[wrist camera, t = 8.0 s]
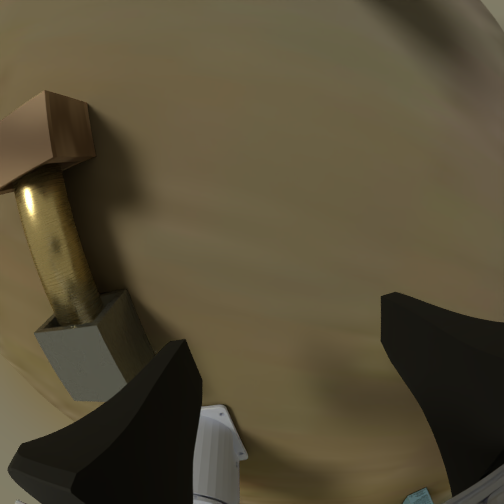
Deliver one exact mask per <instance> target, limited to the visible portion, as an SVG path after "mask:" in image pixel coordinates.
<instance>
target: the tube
mask: <svg viewBox="0 0 504 504" xmlns="http://www.w3.org/2000/svg"><path fill="white" fill-rule="evenodd" d="M12 183H13V188H14V193H15V198H16V202H17V206H18V210H19V214H20V218H21V222H22V226H23V229H24V233H25V236H26V239H27V243H28V246H29V249H30V252H31V255H32V258H33V261H34V264H35V267H36V269H37V272H38V275H39V277H40V280H41V283H42V285H43V288H44V290H45V293H46V295H47V297H48V300H49V302H50V304H51V307H52V309H53V311H54V313H55V316H56V318H57V320H58V322H59V324H60V326H61V327H62V326H70V325H77V324H84V323H92V322H93V321H94V320H95V319H96V317H97V316H98V315H99V314H100V313H101V311H102V310H103V309H104V308H105V307H104V304H103V302H102V300H101V297H100V295H99V292H98V290H97V287H96V285H95V282H94V279H93V277H92V274H91V271H90V268H89V266H88V263H87V260H86V257H85V254H84V251H83V248H82V245H81V242H80V239H79V235H78V232H77V229H76V225H75V222H74V218H73V215H72V211H71V207H70V204H69V200H68V196H67V192H66V187H65V183H64V178H63V174H62V169H61V164H60V163H47V164H43V165H41V166H39V167H37V168H35V169H33V170H32V171H30V172H28V173H26V174H25V175H23V176H21V177H19V178H18V179H16V180H14V181H13V182H12Z"/></svg>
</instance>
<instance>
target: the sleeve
mask: <svg viewBox="0 0 504 504" xmlns="http://www.w3.org/2000/svg"><path fill="white" fill-rule="evenodd" d="M99 295H100V297H101V300H102V302H103V304H104V307H105V308H104V309H103V310H102V311H101V313H100V314H99V315H98V316H97V317H96V319H95V320H94V321H93V322H92V323H84V324H77V325H70V326H62V327H61V326H60V324H59V322H58V320H57V318H56V316H55V313H54V314H53V315H52V316H51V317H50V318H49V319H48V320H47V321H46V322H45V323H44V324H43V325H42V326H41V327H40V328H39V329H38V330H37V331H35V332H34V335H35V336H36V338H37V340H38V342H39V344H40V346H41V348H42V350H43V351H44V353H45V355H46V357H47V358H48V360H49V362H50V364H51V365H52V367H53V369H54V370H55V372H56V374H57V375H58V377H59V378H60V380H61V382H62V383H63V385H64V386H65V388H66V389H67V391H68V392H69V394H70V395H71V397H72V398H73V399H74V401H98V402H107V401H108V400H109V399H110V398H112V397H113V396H114V395H115V394H117V393H118V392H119V391H120V390H121V389H122V388H123V387H124V386H125V385H127V384H128V383H129V382H130V381H131V380H132V379H133V378H134V377H135V376H136V375H137V374H138V373H139V372H140V371H141V370H142V369H143V368H144V367H145V366H146V365H147V364H148V363H149V362H150V361H151V360H152V359H153V358H154V357H155V354H154V352H153V350H152V348H151V346H150V343H149V341H148V339H147V337H146V334H145V332H144V330H143V328H142V325H141V323H140V320H139V318H138V316H137V313H136V311H135V308H134V306H133V303H132V301H131V298H130V296H129V293H128V290H127V289H122V290H117V291H112V292H107V293H102V294H99Z"/></svg>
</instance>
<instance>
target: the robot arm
mask: <svg viewBox="0 0 504 504" xmlns="http://www.w3.org/2000/svg"><path fill="white" fill-rule="evenodd" d="M381 342H382V345H383V347H384V349H385V351H386V353H387V355H388V357H389V359H390V361H391V362H392V364H393V365H394V367H395V368H396V370H397V371H398V373H399V374H400V376H401V377H402V379H403V380H404V382H405V383H406V385H407V386H408V388H409V389H410V391H411V392H412V394H413V395H414V397H415V398H416V400H417V401H418V403H419V405H420V406H421V408H422V410H423V412H424V414H425V416H426V418H427V421H428V423H429V425H430V427H431V429H432V432H433V434H434V437H435V439H436V442H437V444H438V447H439V450H440V453H441V456H442V459H443V462H444V465H445V468H446V472H447V475H448V479H449V483H450V487H451V492H452V497H453V498H451V499H449V500H447V501H446V502H444V503H442V504H481V503H482V504H504V323H503V322H495V321H488V320H483V319H478V318H474V317H470V316H466V315H462V314H459V313H456V312H452V311H449V310H446V309H443V308H440V307H437V306H434V305H432V304H429V303H426V302H424V301H421V300H418V299H416V298H413V297H410V296H407V295H404V294H401V293H397V292H393V293H390V294H387V295H383V296H381ZM201 406H202V378H201V376H200V373H199V371H198V369H197V366H196V364H195V362H194V359H193V357H192V354H191V352H190V349H189V347H188V344H187V342H186V339H183V340H176V341H170V342H169V343H168V344H167V345H165V346H164V347H163V348H162V349H161V350H160V351H159V353H158V354H157V355H156V356H155V357H154V358H153V359H152V360H151V361H150V362H149V363H148V364H147V365H146V366H145V367H144V368H143V369H142V370H141V371H140V372H139V373H138V374H137V375H136V376H135V377H134V378H133V379H132V380H131V381H130V382H129V383H128V384H127V385H125V386H124V387H123V388H122V389H121V390H120V391H119V392H118V393H117V394H115V395H114V396H113V397H112V398H110V399H109V400H108V401H107V402H105V403H104V404H103V405H101V406H100V407H98V408H97V409H96V410H94V411H92V412H91V413H89V414H88V415H86V416H84V417H83V418H81V419H79V420H78V421H76V422H74V423H73V424H71V425H69V426H67V427H65V428H63V429H60V430H58V431H56V432H54V433H52V434H49V435H47V436H44V437H41V438H38V439H35V440H32V441H29V442H26V443H22V444H21V445H20V447H19V448H18V450H17V452H16V454H15V456H14V457H13V459H12V461H11V463H10V465H9V467H8V473H9V475H10V476H11V478H12V479H13V480H14V481H15V482H16V483H17V484H18V485H19V486H20V487H22V488H23V489H24V490H25V491H26V492H28V493H29V494H30V495H31V496H32V497H34V498H35V499H36V500H38V501H39V502H40V503H42V504H239V501H240V487H239V460H246V459H248V454H247V452H246V449H245V447H244V445H243V443H242V441H241V439H240V437H239V435H238V432H237V430H236V428H235V426H234V423H233V421H232V419H231V417H230V414H229V412H228V410H227V408H226V406H224V405H212V406H203V407H201ZM15 504H26V503H24V502H22V501H20V500H16V502H15Z"/></svg>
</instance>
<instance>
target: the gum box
mask: <svg viewBox="0 0 504 504" xmlns="http://www.w3.org/2000/svg"><path fill="white" fill-rule="evenodd" d="M403 504H434V503H433V501H432V499H431V497H430V494H429V492H428V490H427V488H424V489H422V490H420V491H417V492H415V493H413V494H411V495H408V496H407V498H406V499H405V501H404V502H403Z"/></svg>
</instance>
